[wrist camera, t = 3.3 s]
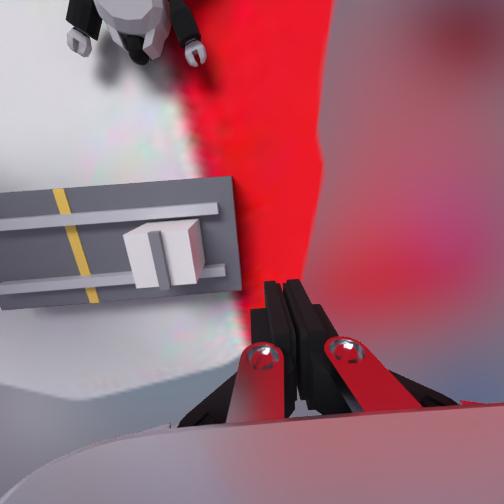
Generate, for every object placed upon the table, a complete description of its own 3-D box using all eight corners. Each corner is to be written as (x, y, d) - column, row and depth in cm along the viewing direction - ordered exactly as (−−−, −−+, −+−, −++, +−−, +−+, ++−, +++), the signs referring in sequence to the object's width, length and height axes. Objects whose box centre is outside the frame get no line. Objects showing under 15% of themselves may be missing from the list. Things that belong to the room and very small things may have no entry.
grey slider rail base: (-18, 194, 24) (-66, 198, 20) (232, 175, 25) (230, 176, 21) (26, 296, 28) (-8, 315, 24) (241, 278, 28) (241, 294, 25)
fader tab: (147, 221, 23) (119, 235, 17) (198, 217, 23) (186, 230, 18) (157, 267, 24) (134, 292, 19) (205, 263, 24) (195, 287, 19)
